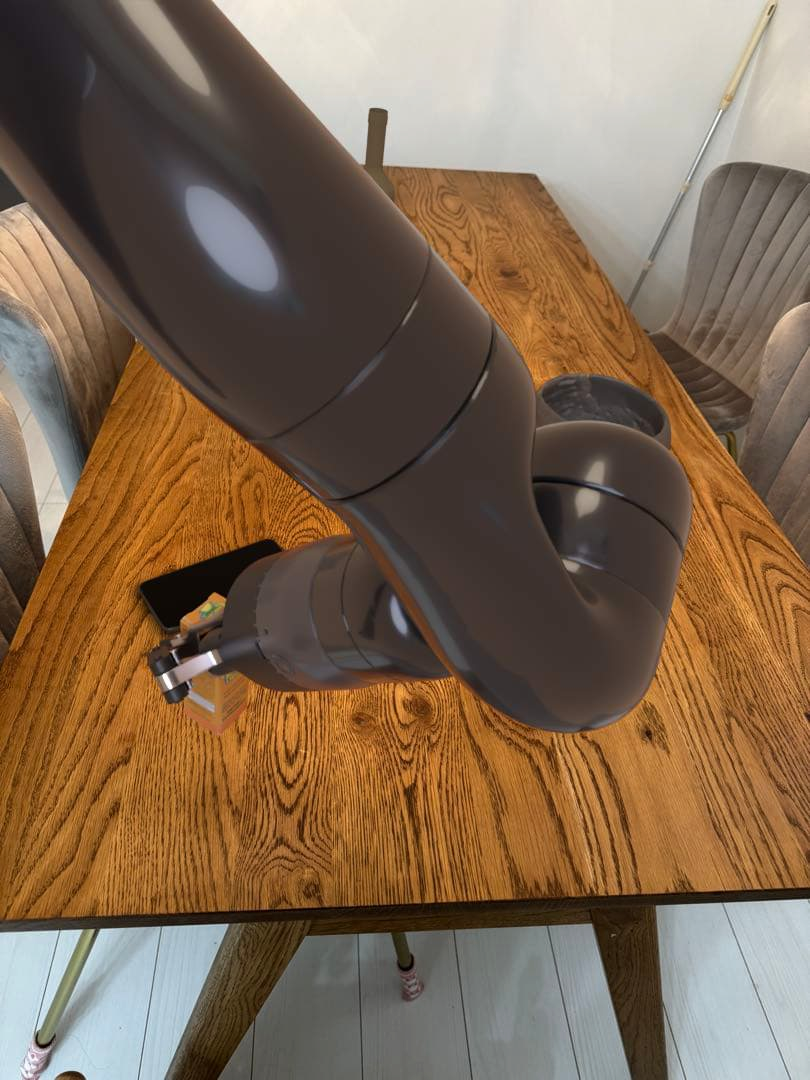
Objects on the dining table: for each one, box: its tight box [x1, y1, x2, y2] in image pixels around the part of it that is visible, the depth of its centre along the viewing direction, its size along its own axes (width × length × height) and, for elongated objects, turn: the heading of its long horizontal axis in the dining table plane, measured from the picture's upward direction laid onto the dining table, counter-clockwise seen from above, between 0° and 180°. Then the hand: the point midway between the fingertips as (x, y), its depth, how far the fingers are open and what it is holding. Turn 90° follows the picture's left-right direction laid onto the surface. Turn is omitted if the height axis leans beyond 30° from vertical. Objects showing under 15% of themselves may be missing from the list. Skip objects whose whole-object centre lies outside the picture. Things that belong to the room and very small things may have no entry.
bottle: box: [362, 107, 396, 204], centre depth 121 cm, size 7×7×30 cm
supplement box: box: [180, 593, 249, 736], centre depth 54 cm, size 3×3×10 cm
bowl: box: [536, 372, 672, 452], centre depth 97 cm, size 18×18×13 cm
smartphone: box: [138, 538, 284, 634], centre depth 81 cm, size 7×1×15 cm
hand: (198, 638), depth 55 cm, fingers closed on supplement box, 4 cm apart
